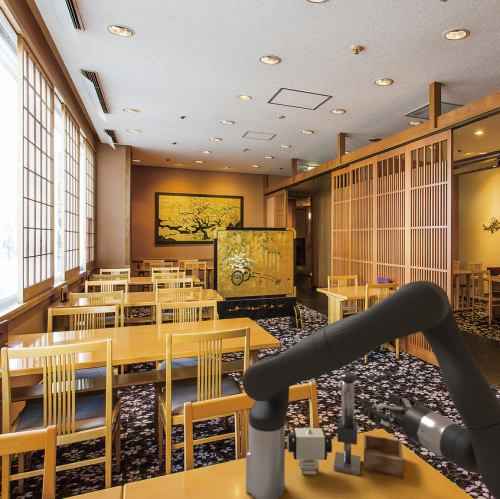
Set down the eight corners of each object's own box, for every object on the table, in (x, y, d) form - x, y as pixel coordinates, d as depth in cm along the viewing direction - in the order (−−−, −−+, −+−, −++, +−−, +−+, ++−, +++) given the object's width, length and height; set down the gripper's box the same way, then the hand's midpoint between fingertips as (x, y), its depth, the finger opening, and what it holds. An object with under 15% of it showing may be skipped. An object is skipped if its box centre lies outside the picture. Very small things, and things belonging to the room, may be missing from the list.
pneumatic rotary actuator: (332, 477, 95) (332, 433, 95) (288, 476, 95) (288, 432, 95) (327, 464, 100) (328, 422, 100) (286, 463, 100) (286, 422, 100)
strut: (337, 441, 98) (337, 376, 98) (339, 431, 103) (339, 370, 103) (356, 444, 97) (357, 379, 96) (357, 435, 102) (358, 372, 101)
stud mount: (333, 469, 98) (333, 431, 98) (335, 455, 104) (336, 419, 104) (359, 475, 96) (360, 436, 95) (360, 460, 102) (360, 424, 102)
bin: (363, 470, 98) (363, 452, 97) (364, 450, 107) (364, 434, 107) (403, 478, 94) (403, 460, 94) (400, 457, 104) (400, 440, 104)
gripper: (455, 406, 77) (397, 381, 92) (407, 419, 72) (354, 390, 87) (455, 440, 77) (398, 409, 92) (407, 456, 72) (354, 420, 87)
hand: (376, 400), depth 89 cm, fingers open, 8 cm apart
